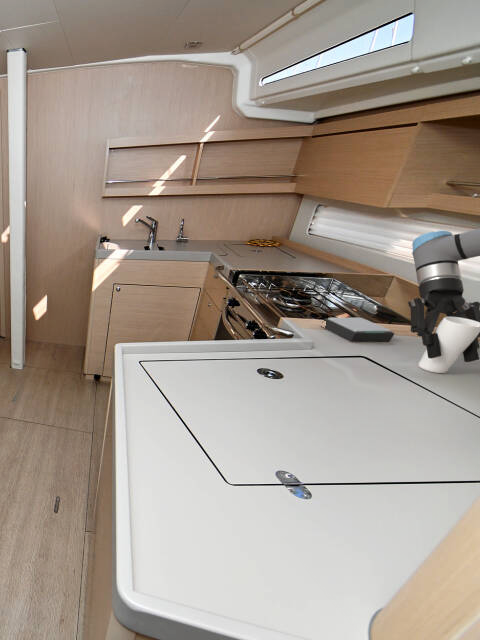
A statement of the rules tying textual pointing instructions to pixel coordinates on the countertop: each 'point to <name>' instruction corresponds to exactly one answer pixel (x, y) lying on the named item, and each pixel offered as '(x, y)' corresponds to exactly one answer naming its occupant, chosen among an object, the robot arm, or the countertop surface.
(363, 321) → the kitchen scale
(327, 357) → the countertop surface
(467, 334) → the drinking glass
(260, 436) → the countertop surface
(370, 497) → the countertop surface
